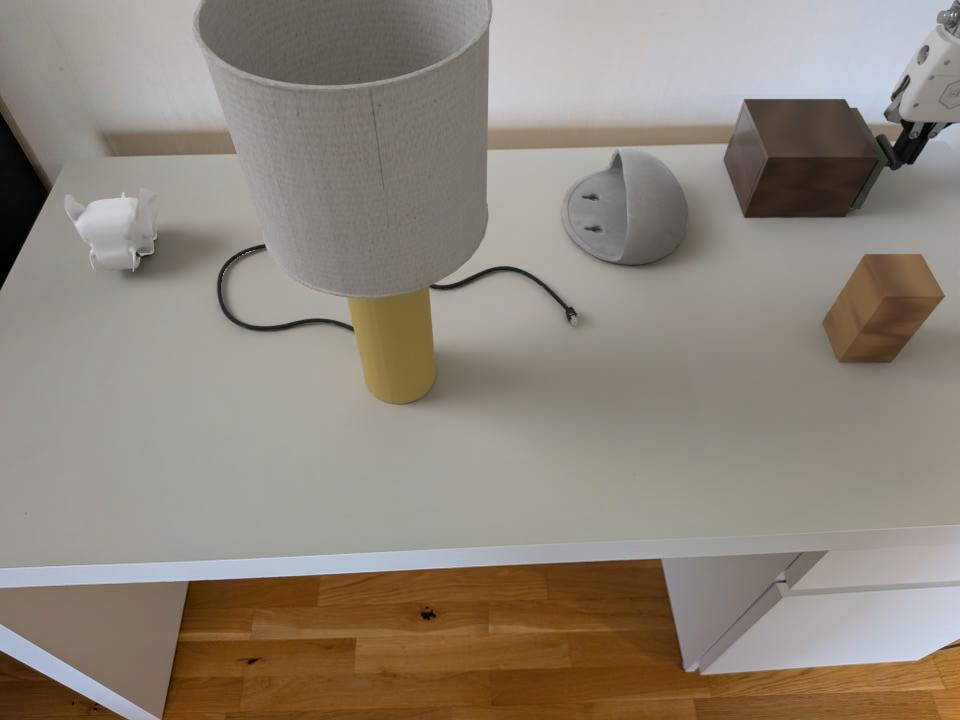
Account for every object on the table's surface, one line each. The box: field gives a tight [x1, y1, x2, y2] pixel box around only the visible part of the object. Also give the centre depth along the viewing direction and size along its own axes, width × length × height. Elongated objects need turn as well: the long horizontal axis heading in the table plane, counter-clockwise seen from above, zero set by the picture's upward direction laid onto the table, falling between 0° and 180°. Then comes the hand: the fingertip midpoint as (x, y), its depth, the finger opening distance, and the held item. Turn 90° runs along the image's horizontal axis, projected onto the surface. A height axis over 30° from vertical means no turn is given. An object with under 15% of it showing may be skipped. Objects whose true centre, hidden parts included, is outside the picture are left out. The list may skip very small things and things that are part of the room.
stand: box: [821, 253, 946, 363], centre depth 74 cm, size 6×6×11 cm
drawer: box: [850, 107, 904, 210], centre depth 91 cm, size 17×11×8 cm
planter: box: [561, 146, 689, 266], centre depth 88 cm, size 19×7×16 cm
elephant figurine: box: [63, 187, 158, 276], centre depth 82 cm, size 10×12×9 cm
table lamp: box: [192, 0, 578, 405], centre depth 63 cm, size 40×34×40 cm
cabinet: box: [723, 98, 879, 218], centre depth 91 cm, size 14×13×10 cm
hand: (901, 158), depth 91 cm, fingers closed
